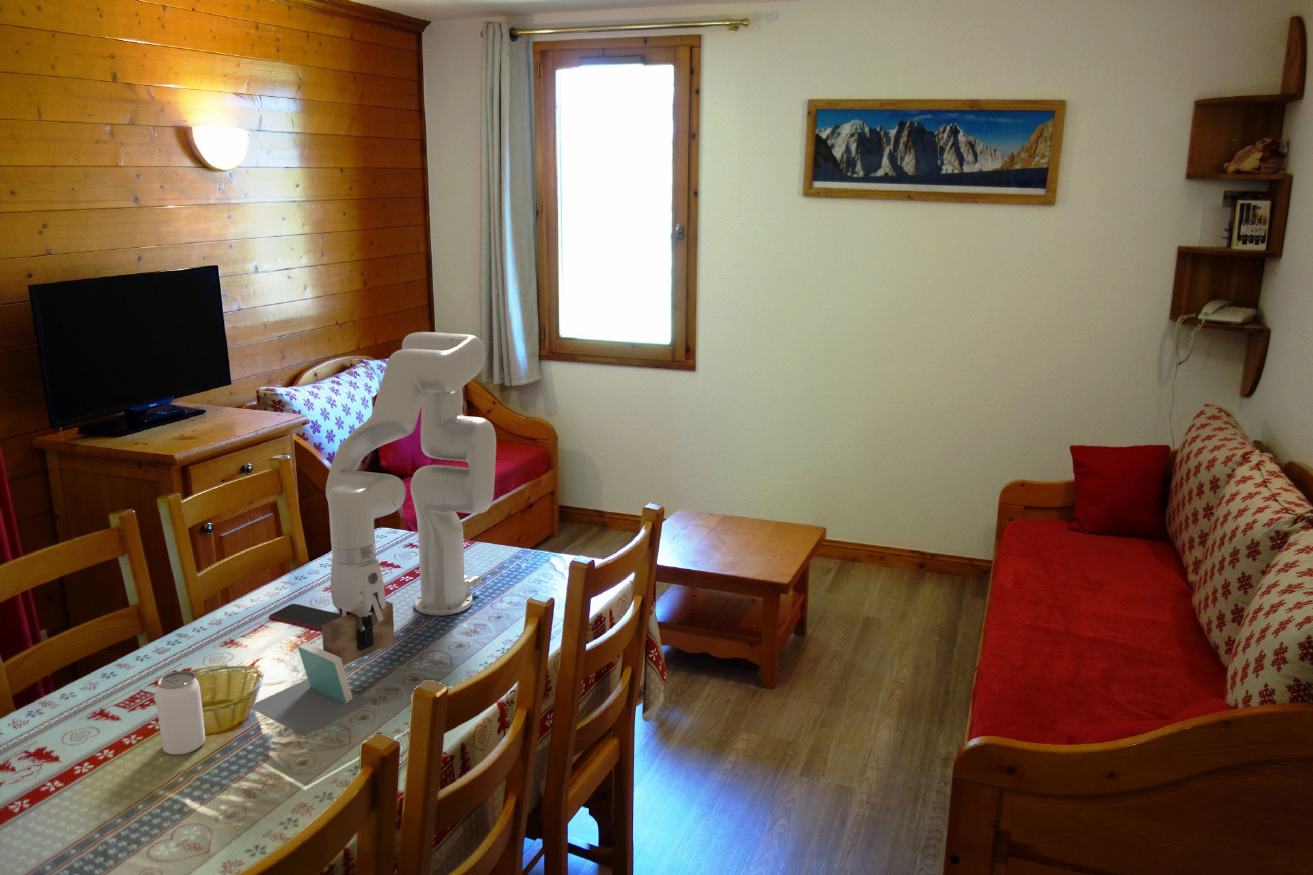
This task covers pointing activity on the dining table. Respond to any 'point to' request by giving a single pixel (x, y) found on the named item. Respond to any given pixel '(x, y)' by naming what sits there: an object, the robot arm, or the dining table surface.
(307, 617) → the smartphone
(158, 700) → the can
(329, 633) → the wooden plank piece
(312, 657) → the tile
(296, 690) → the mat
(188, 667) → the dining table surface
